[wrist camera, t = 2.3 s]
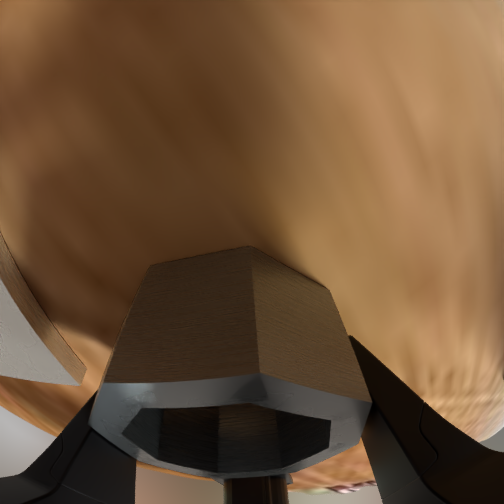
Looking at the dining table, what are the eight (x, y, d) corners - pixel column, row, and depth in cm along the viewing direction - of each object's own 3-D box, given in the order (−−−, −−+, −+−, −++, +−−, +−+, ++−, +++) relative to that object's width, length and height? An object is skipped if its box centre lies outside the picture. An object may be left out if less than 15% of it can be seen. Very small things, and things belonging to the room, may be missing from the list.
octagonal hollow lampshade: (330, 377, 11) (351, 460, 7) (175, 398, 11) (165, 476, 8) (325, 230, 7) (387, 343, 4) (94, 277, 8) (38, 378, 4)
